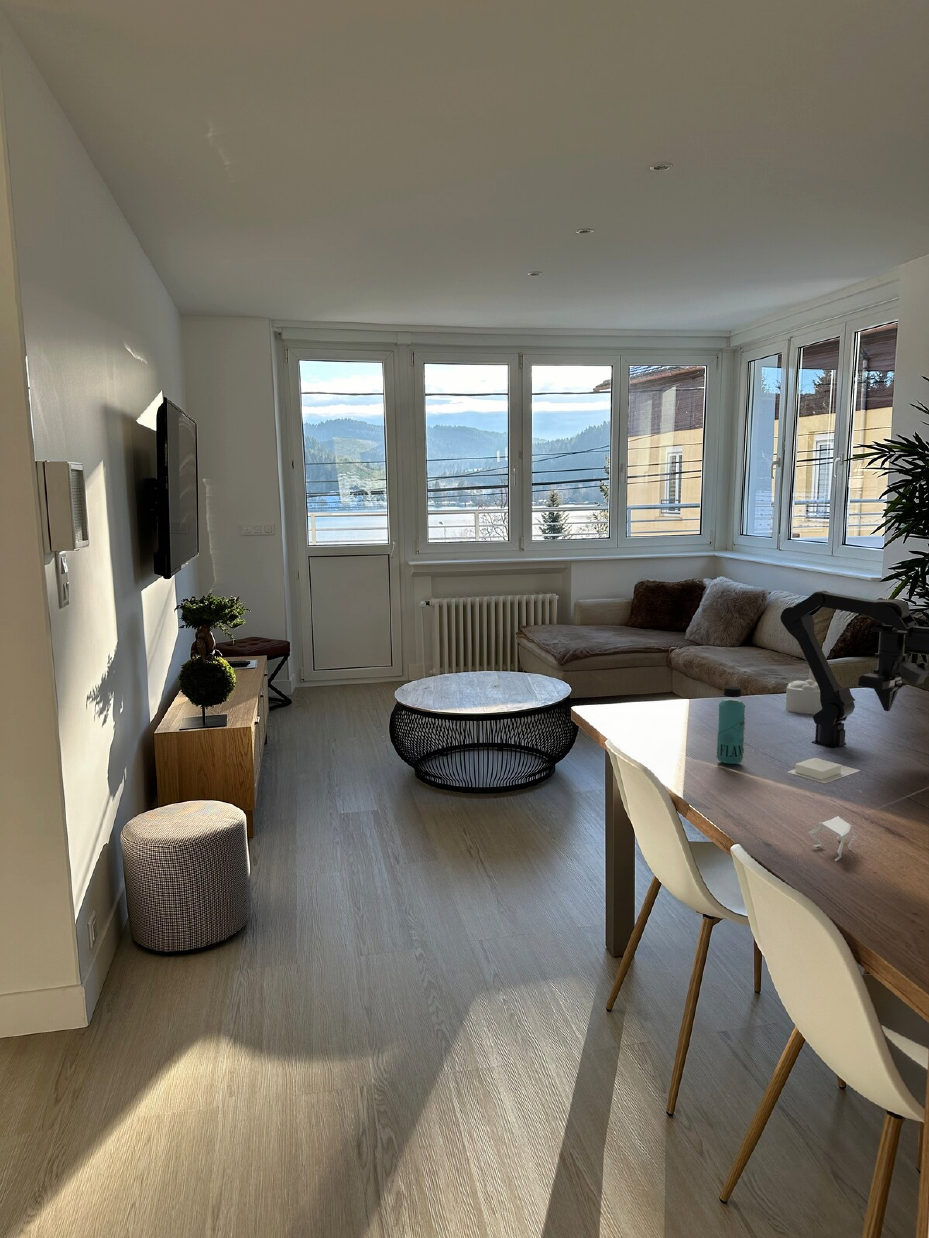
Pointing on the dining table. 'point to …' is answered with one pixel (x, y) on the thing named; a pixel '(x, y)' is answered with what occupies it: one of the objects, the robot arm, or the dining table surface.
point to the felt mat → (844, 772)
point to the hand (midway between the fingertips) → (887, 710)
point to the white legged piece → (835, 832)
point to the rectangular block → (818, 768)
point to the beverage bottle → (731, 727)
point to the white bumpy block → (803, 697)
